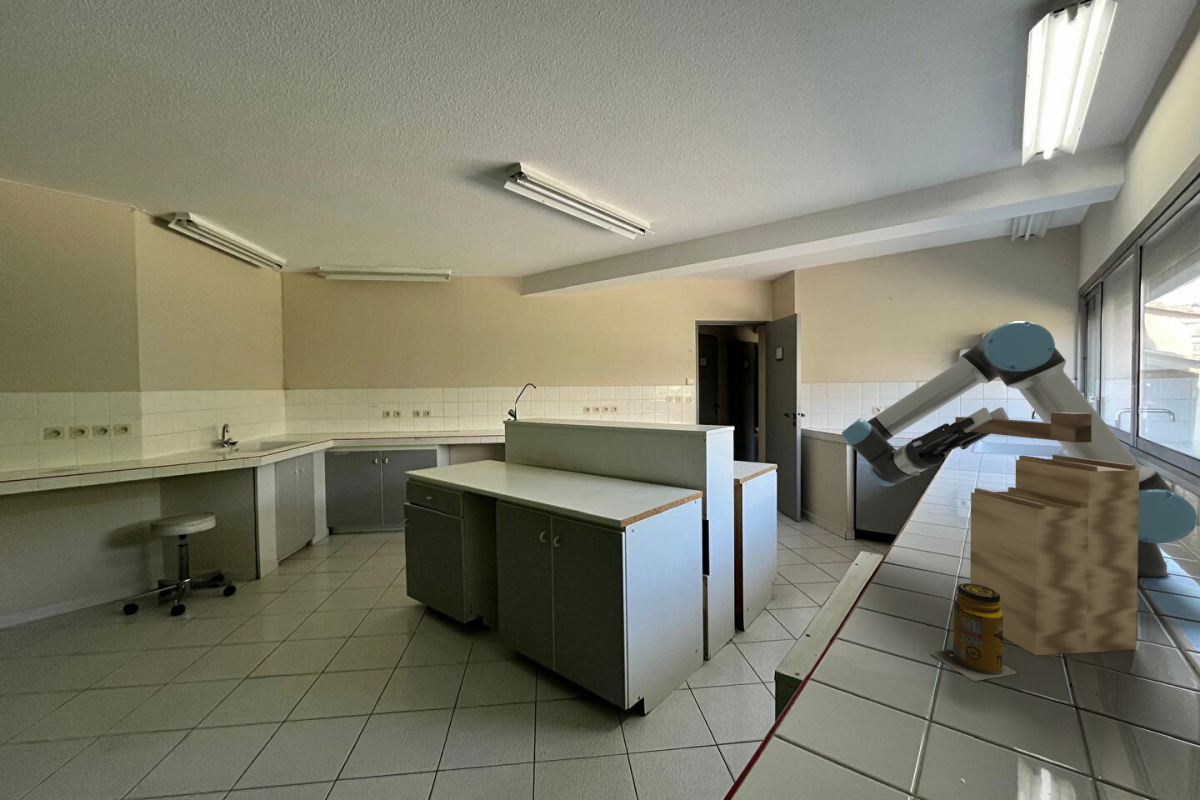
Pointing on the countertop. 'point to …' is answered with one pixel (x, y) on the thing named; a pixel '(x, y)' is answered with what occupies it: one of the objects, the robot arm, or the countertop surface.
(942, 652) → the condiment
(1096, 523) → the notch post
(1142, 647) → the countertop surface
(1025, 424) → the frame bar
